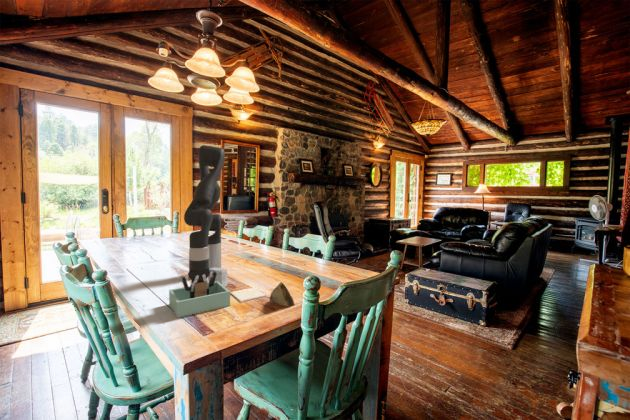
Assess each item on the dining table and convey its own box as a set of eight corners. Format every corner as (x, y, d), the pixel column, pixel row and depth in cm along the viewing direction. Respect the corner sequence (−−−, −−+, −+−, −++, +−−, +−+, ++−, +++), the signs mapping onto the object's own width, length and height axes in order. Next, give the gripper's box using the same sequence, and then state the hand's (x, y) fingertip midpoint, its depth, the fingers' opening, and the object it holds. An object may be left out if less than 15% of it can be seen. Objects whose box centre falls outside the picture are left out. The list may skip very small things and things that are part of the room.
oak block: (192, 301, 118) (192, 280, 117) (203, 299, 120) (203, 278, 120) (195, 305, 114) (194, 283, 113) (206, 303, 117) (206, 281, 116)
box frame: (169, 304, 117) (169, 289, 117) (218, 294, 129) (218, 281, 128) (176, 318, 105) (176, 302, 105) (230, 305, 117) (230, 291, 116)
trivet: (230, 293, 130) (230, 292, 130) (255, 288, 137) (255, 287, 137) (240, 302, 121) (240, 300, 121) (266, 296, 128) (266, 295, 128)
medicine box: (227, 286, 140) (227, 268, 139) (221, 289, 135) (221, 271, 135) (214, 284, 142) (214, 267, 141) (208, 286, 138) (208, 269, 137)
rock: (262, 296, 122) (270, 301, 113) (273, 278, 125) (281, 282, 116) (281, 307, 126) (290, 313, 117) (292, 290, 129) (301, 295, 120)
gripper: (214, 253, 123) (214, 291, 124) (178, 257, 114) (178, 299, 116) (219, 257, 117) (219, 297, 118) (182, 262, 108) (182, 305, 110)
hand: (199, 298), depth 117 cm, fingers closed on oak block, 4 cm apart
